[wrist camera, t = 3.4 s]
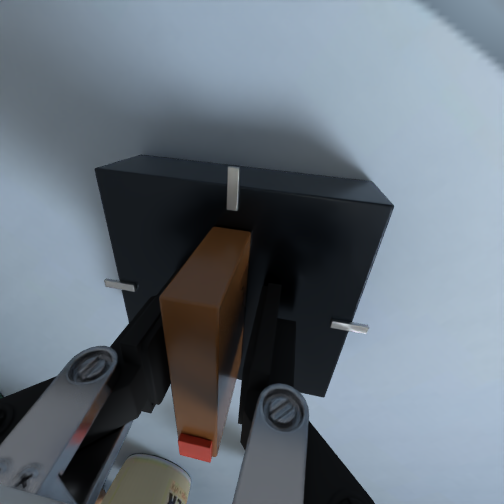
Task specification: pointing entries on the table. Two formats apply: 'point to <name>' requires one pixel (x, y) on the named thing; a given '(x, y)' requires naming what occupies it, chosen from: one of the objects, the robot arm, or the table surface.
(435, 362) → the table surface
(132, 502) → the coffee cup
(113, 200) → the clamp block
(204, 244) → the wooden rectangular beam
